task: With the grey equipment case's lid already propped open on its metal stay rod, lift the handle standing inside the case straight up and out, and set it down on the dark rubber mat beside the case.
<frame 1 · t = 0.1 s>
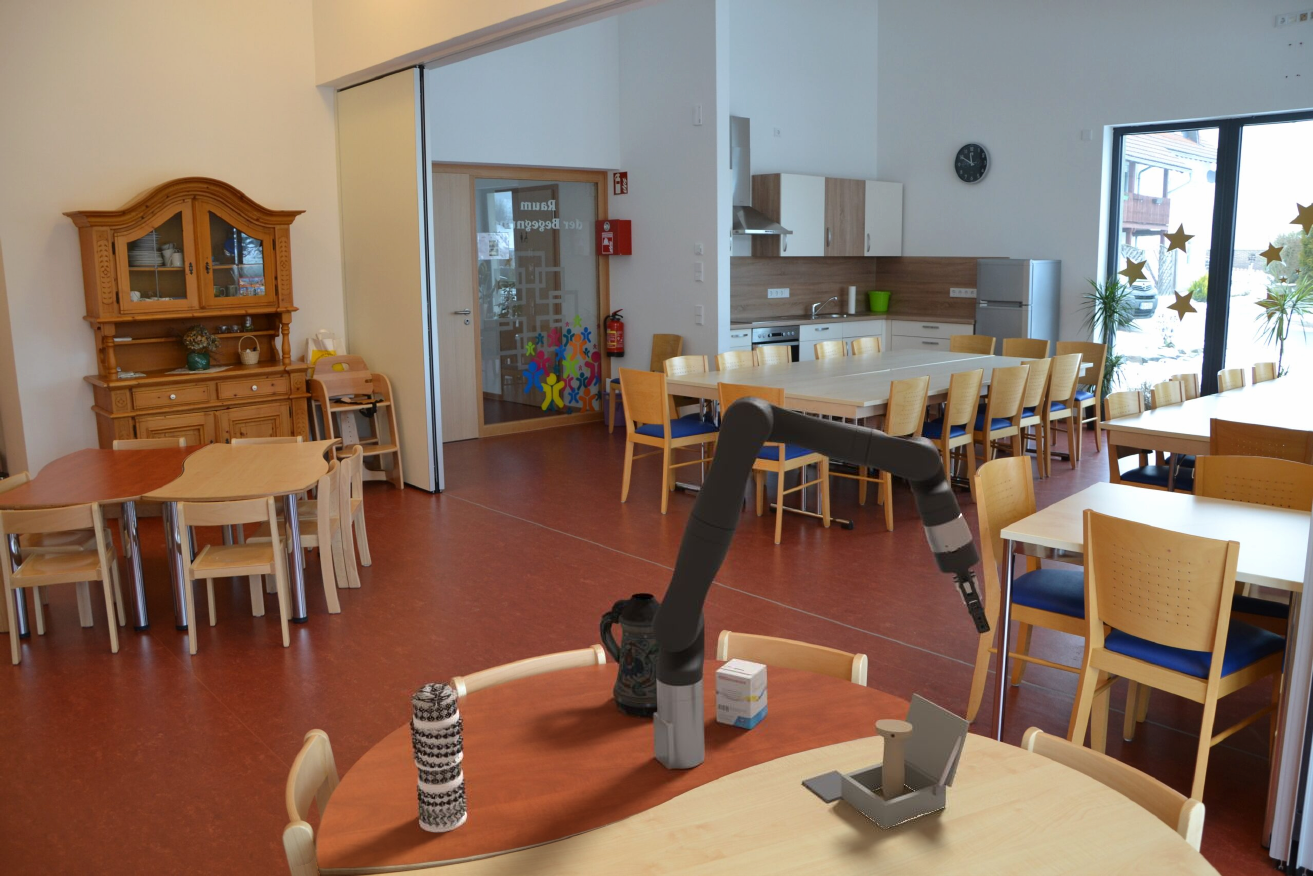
hand: (982, 623, 179), 31 cm above the table, tool tilted 20°, fingers open, 8 cm apart
mat: (832, 787, 184), on the table
ink box: (742, 719, 214), on the table
decorative candle: (443, 820, 177), on the table
beer stein: (643, 703, 223), on the table
handle: (892, 804, 178), resting in case
case: (892, 803, 178), on the table
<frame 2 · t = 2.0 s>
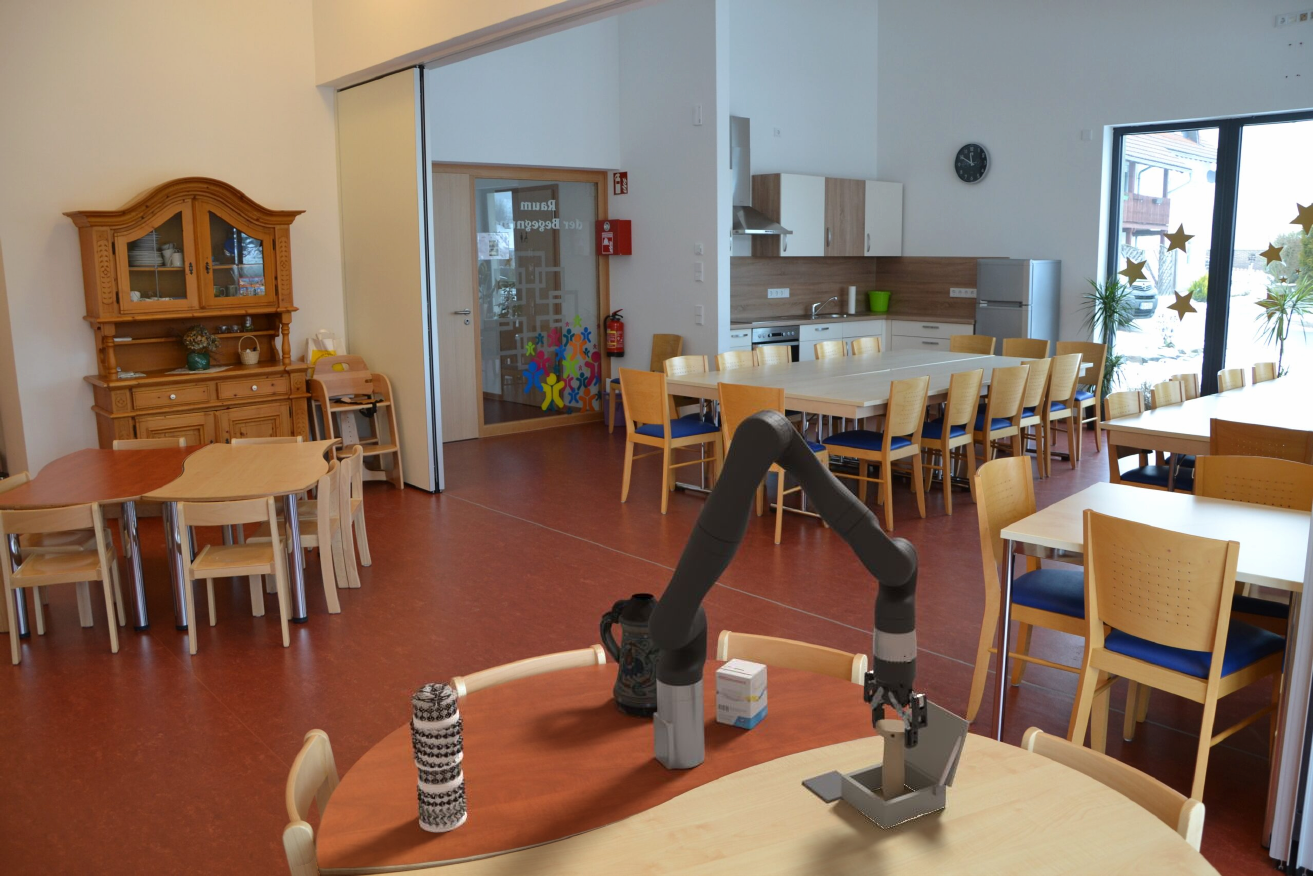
hand: (894, 737, 176), 13 cm above the table, tool pointing down, fingers open, 8 cm apart
nothing on the table moved.
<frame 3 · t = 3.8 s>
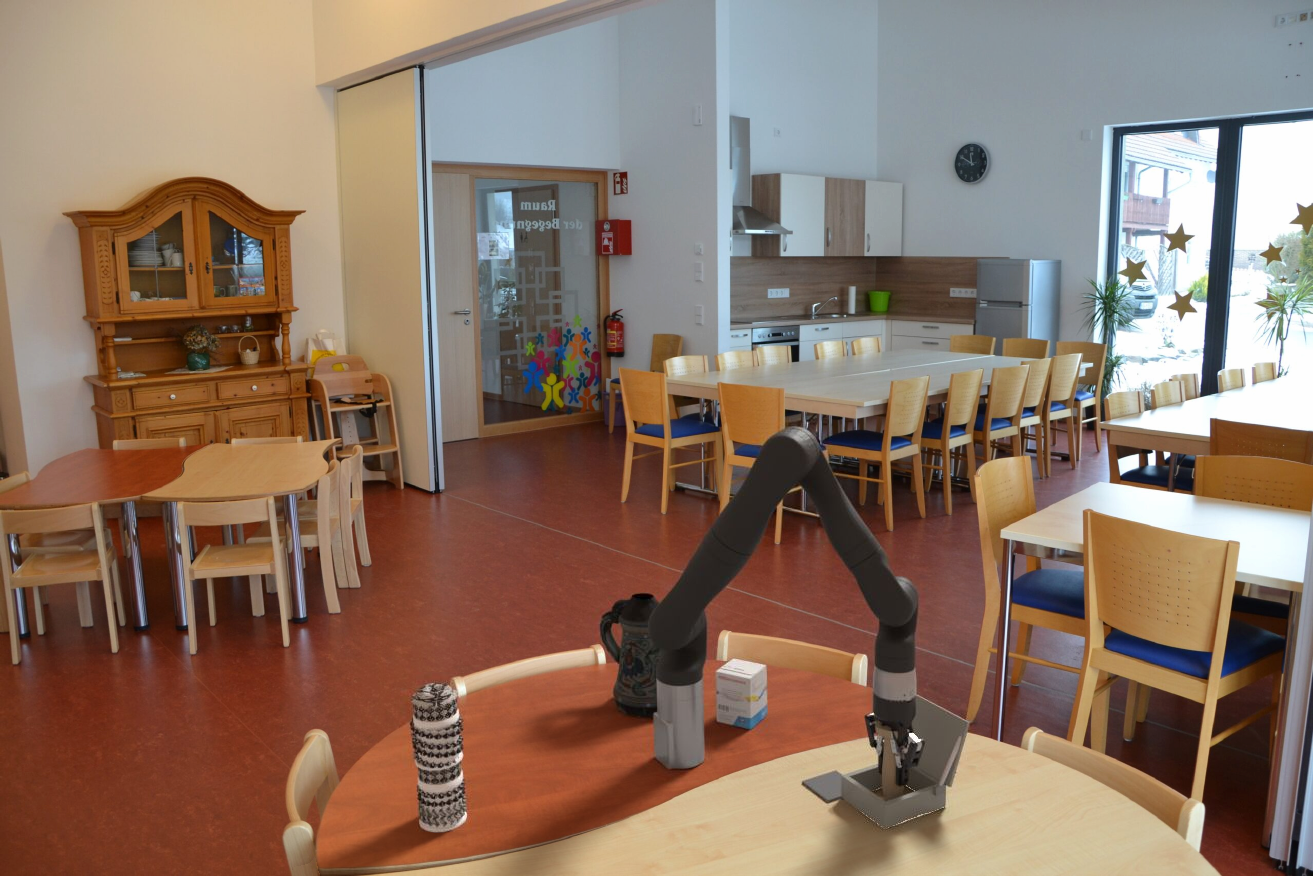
hand: (893, 778, 177), 5 cm above the table, tool pointing down, fingers closed on handle, 4 cm apart
handle: (892, 804, 178), resting in case, touching gripper
everything else where it was.
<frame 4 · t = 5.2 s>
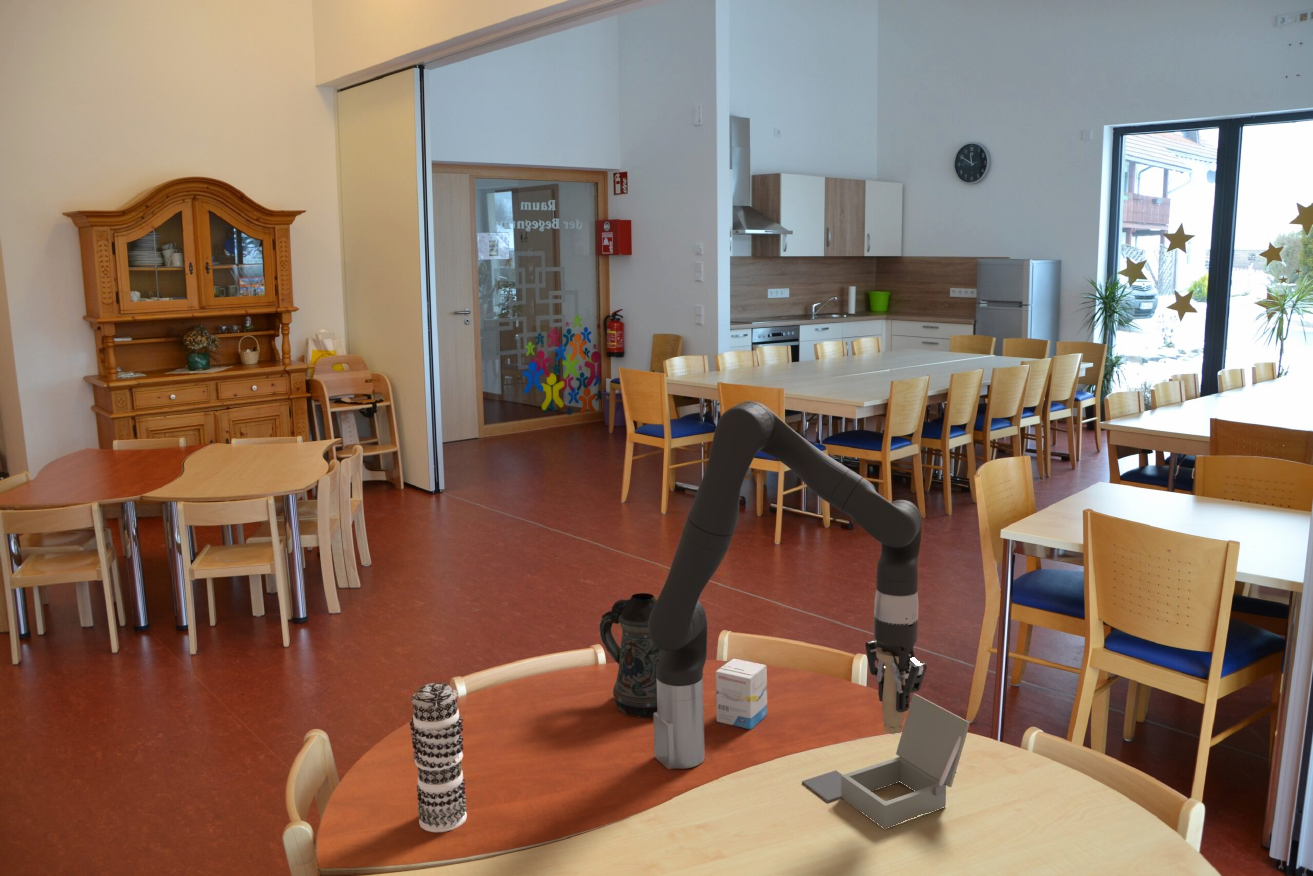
hand: (893, 705, 175), 19 cm above the table, tool pointing down, fingers closed on handle, 4 cm apart
handle: (892, 731, 176), point 14 cm above the table, touching gripper
everything else where it was.
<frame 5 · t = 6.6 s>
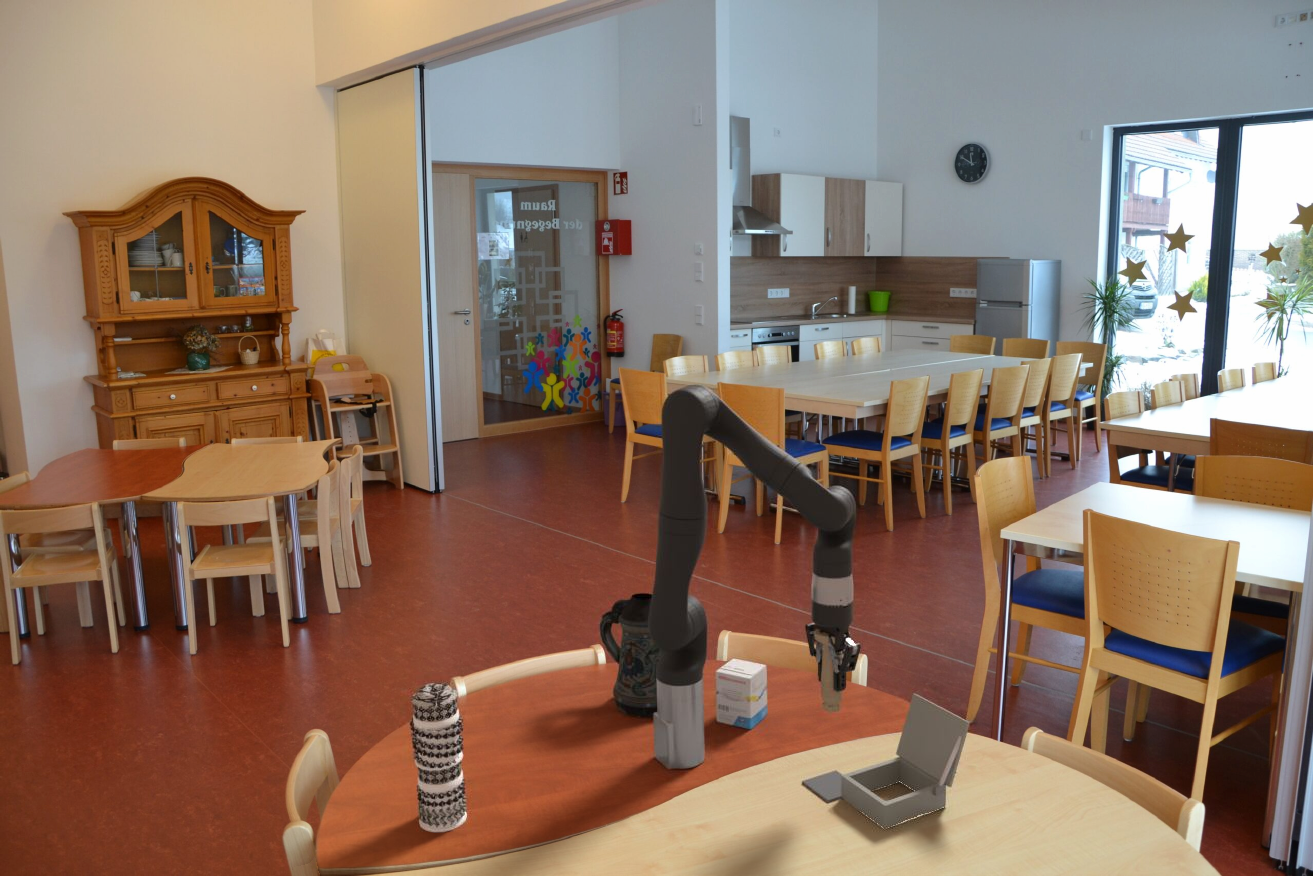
hand: (831, 685, 181), 20 cm above the table, tool pointing down, fingers closed on handle, 4 cm apart
handle: (831, 710, 182), point 15 cm above the table, touching gripper
everything else where it was.
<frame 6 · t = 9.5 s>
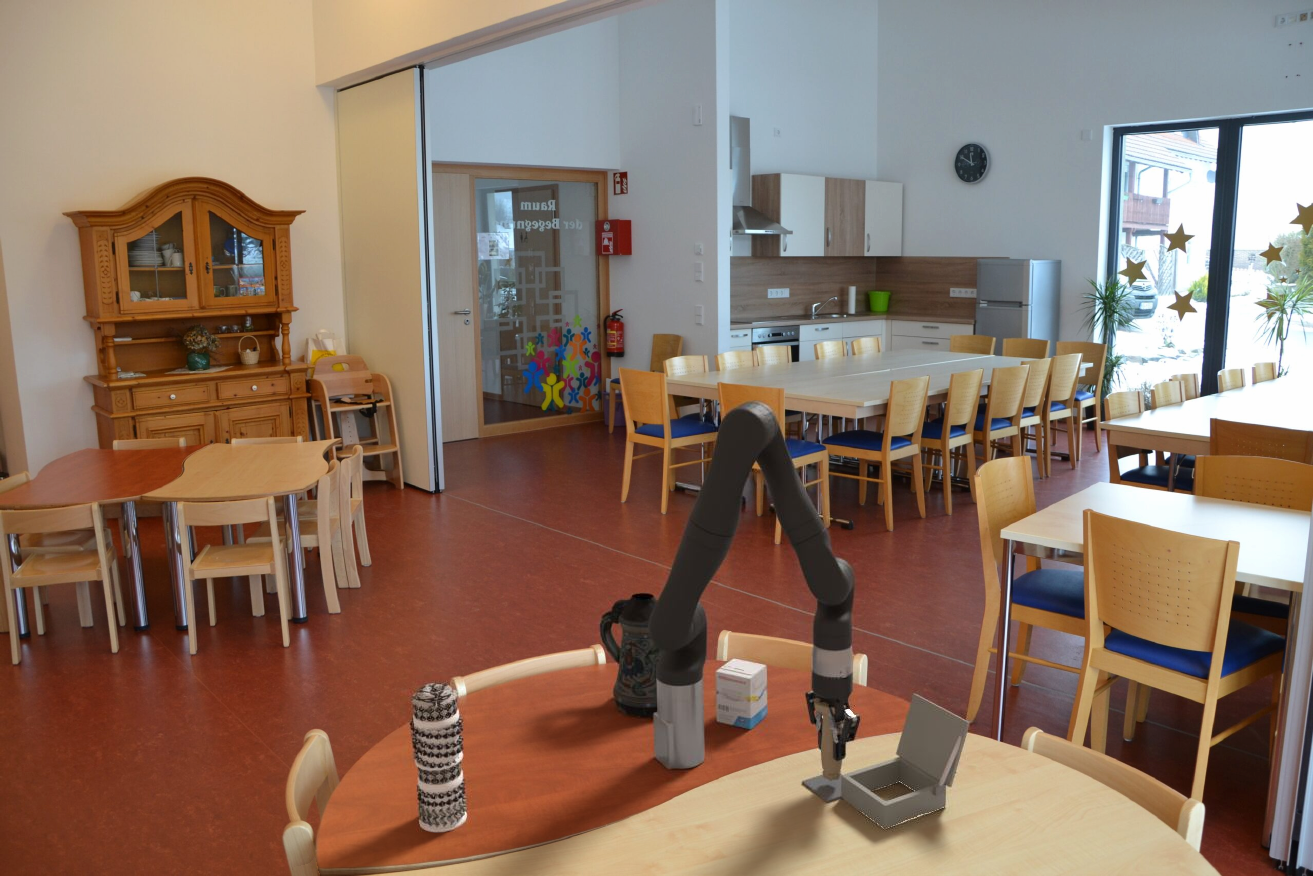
hand: (831, 753, 183), 7 cm above the table, tool pointing down, fingers closed on handle, 4 cm apart
handle: (831, 778, 184), point 2 cm above the table, touching gripper
everything else where it was.
when the fingers open (7 cm above the table, at t = 9.7 s): handle drops 1 cm, resting on mat.
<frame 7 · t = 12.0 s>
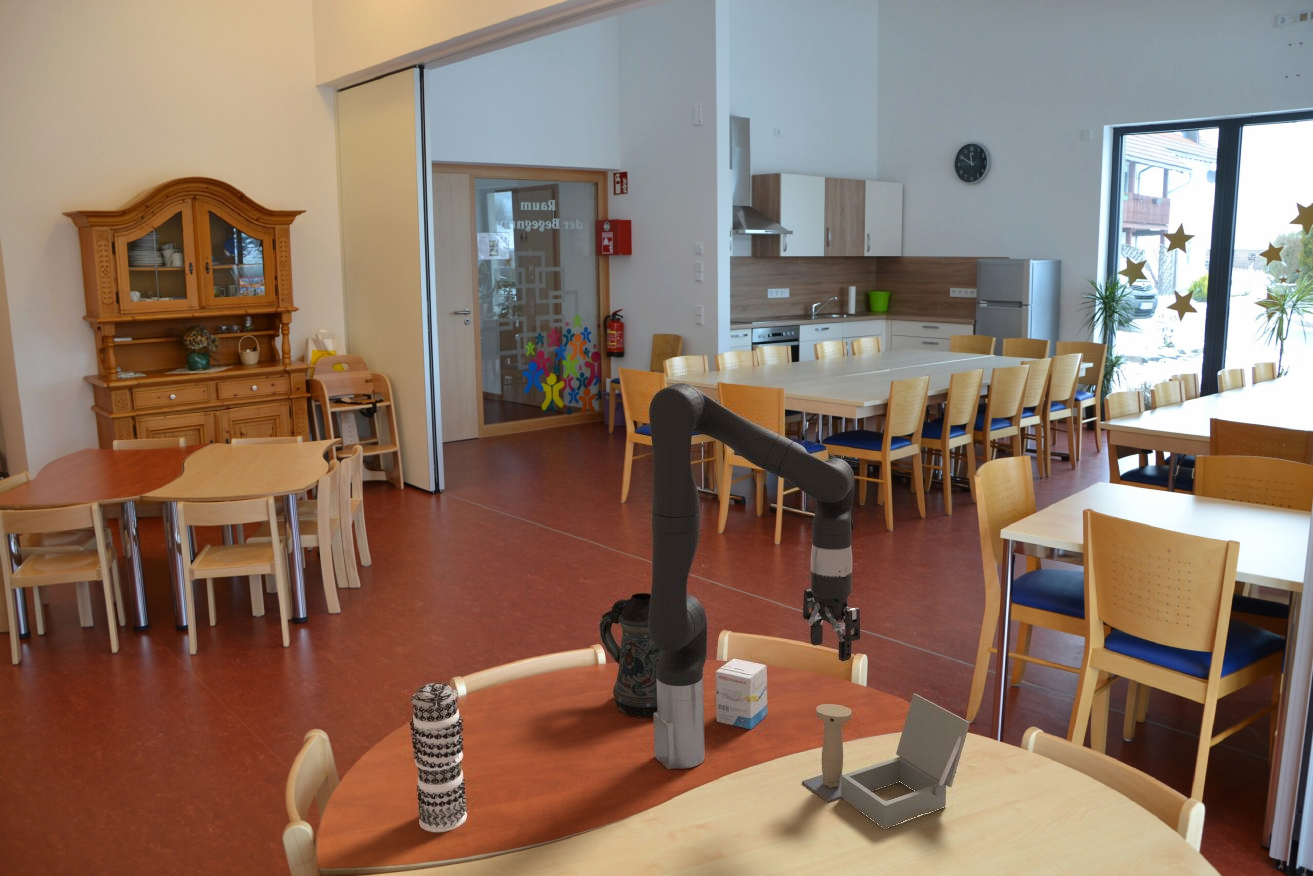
hand: (830, 652, 182), 26 cm above the table, tool pointing down, fingers open, 8 cm apart
handle: (831, 785, 184), resting on mat
everything else where it was.
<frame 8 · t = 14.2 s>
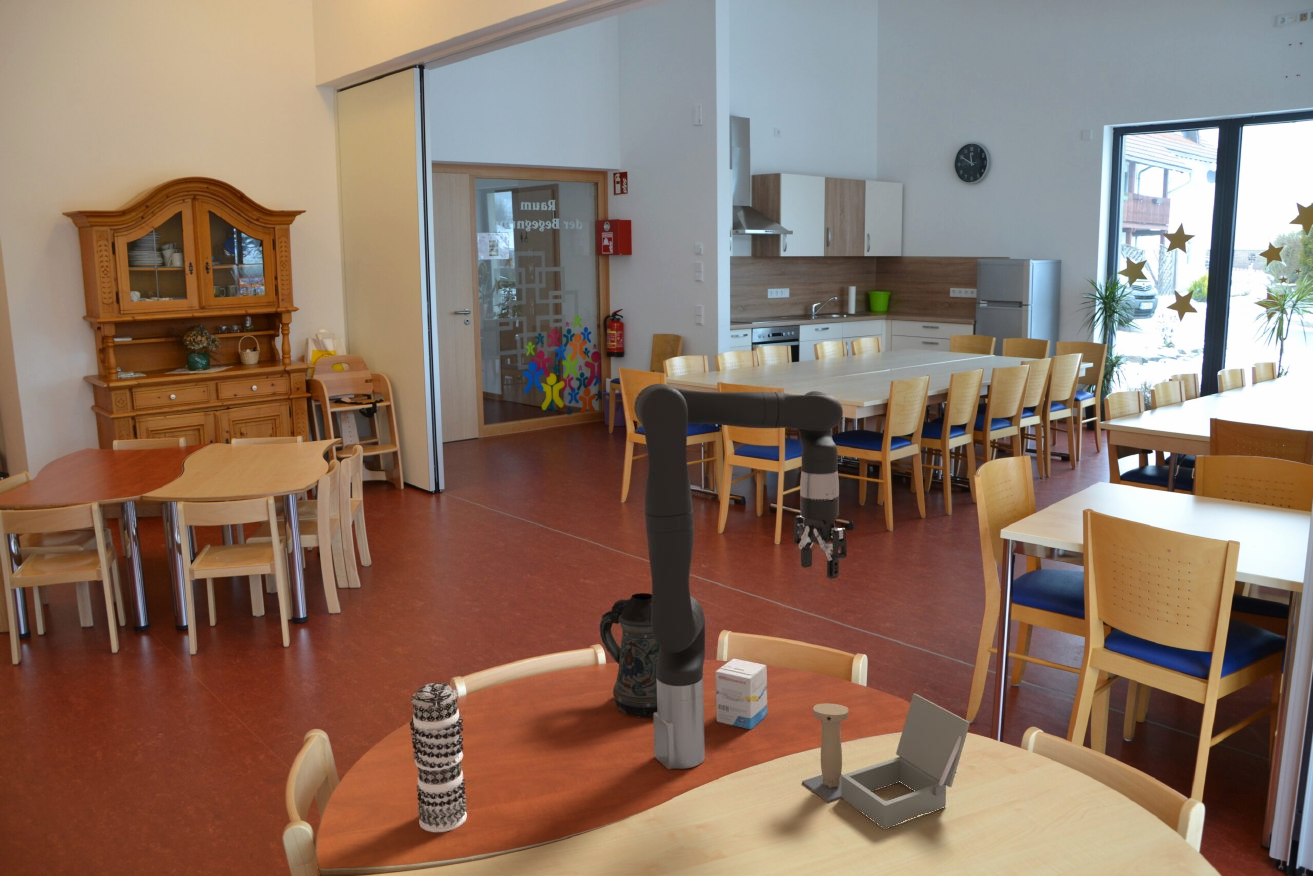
hand: (819, 572, 196), 36 cm above the table, tool pointing down, fingers open, 8 cm apart
nothing on the table moved.
at the end: handle inside the target area on the mat (0.1 cm from its centre), point 0.2 cm above the mat's base; the gripper is holding nothing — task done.
